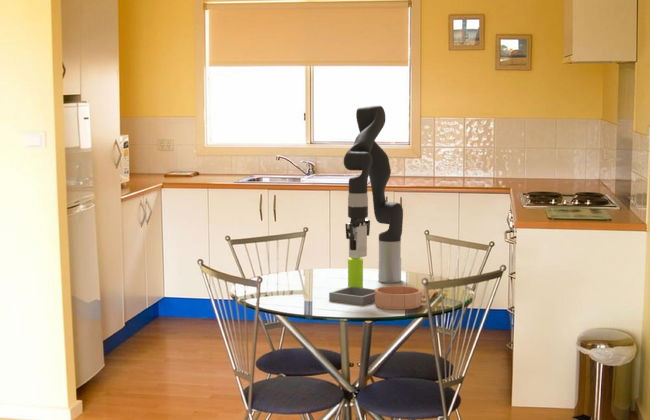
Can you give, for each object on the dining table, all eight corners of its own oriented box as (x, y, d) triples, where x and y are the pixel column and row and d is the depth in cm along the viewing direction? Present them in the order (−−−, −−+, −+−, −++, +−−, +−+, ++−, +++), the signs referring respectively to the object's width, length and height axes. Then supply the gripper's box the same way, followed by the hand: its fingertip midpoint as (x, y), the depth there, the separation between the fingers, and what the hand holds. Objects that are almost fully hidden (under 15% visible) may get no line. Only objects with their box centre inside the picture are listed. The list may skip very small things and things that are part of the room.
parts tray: (350, 293, 367) (350, 286, 367) (383, 298, 359) (383, 290, 359) (329, 300, 355) (329, 292, 355) (363, 305, 347) (363, 297, 346)
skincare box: (358, 255, 359) (358, 224, 357) (367, 256, 356) (367, 225, 354) (348, 257, 354) (348, 225, 353) (357, 258, 351) (357, 226, 350)
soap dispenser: (364, 293, 369) (364, 242, 366) (346, 292, 370) (346, 242, 368) (366, 290, 374) (366, 240, 372) (349, 289, 376) (349, 240, 373)
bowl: (389, 298, 359) (389, 284, 358) (429, 303, 349) (429, 288, 349) (366, 306, 345) (366, 291, 344) (406, 311, 335) (407, 296, 335)
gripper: (359, 202, 361) (359, 245, 362) (339, 206, 349) (339, 250, 351) (376, 203, 356) (376, 247, 358) (356, 207, 344) (356, 252, 346)
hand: (357, 248), depth 354 cm, fingers closed on skincare box, 6 cm apart
